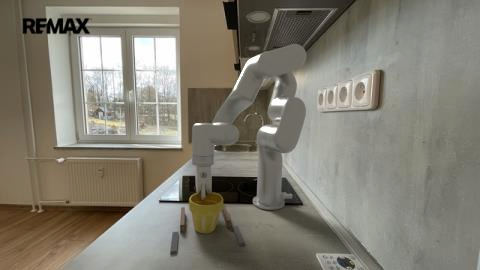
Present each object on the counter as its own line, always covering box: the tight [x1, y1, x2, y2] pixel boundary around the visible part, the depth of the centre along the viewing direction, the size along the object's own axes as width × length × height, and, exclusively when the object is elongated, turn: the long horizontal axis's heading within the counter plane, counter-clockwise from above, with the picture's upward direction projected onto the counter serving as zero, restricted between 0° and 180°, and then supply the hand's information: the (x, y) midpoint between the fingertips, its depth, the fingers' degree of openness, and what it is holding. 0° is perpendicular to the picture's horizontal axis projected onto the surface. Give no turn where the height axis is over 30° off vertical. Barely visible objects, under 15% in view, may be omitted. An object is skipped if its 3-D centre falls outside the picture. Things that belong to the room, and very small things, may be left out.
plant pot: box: [188, 191, 224, 234], centre depth 68 cm, size 10×10×10 cm
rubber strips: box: [169, 225, 246, 255], centre depth 62 cm, size 20×9×1 cm, turn 103°
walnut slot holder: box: [179, 203, 232, 234], centre depth 73 cm, size 15×12×2 cm
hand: (202, 211), depth 76 cm, fingers closed
